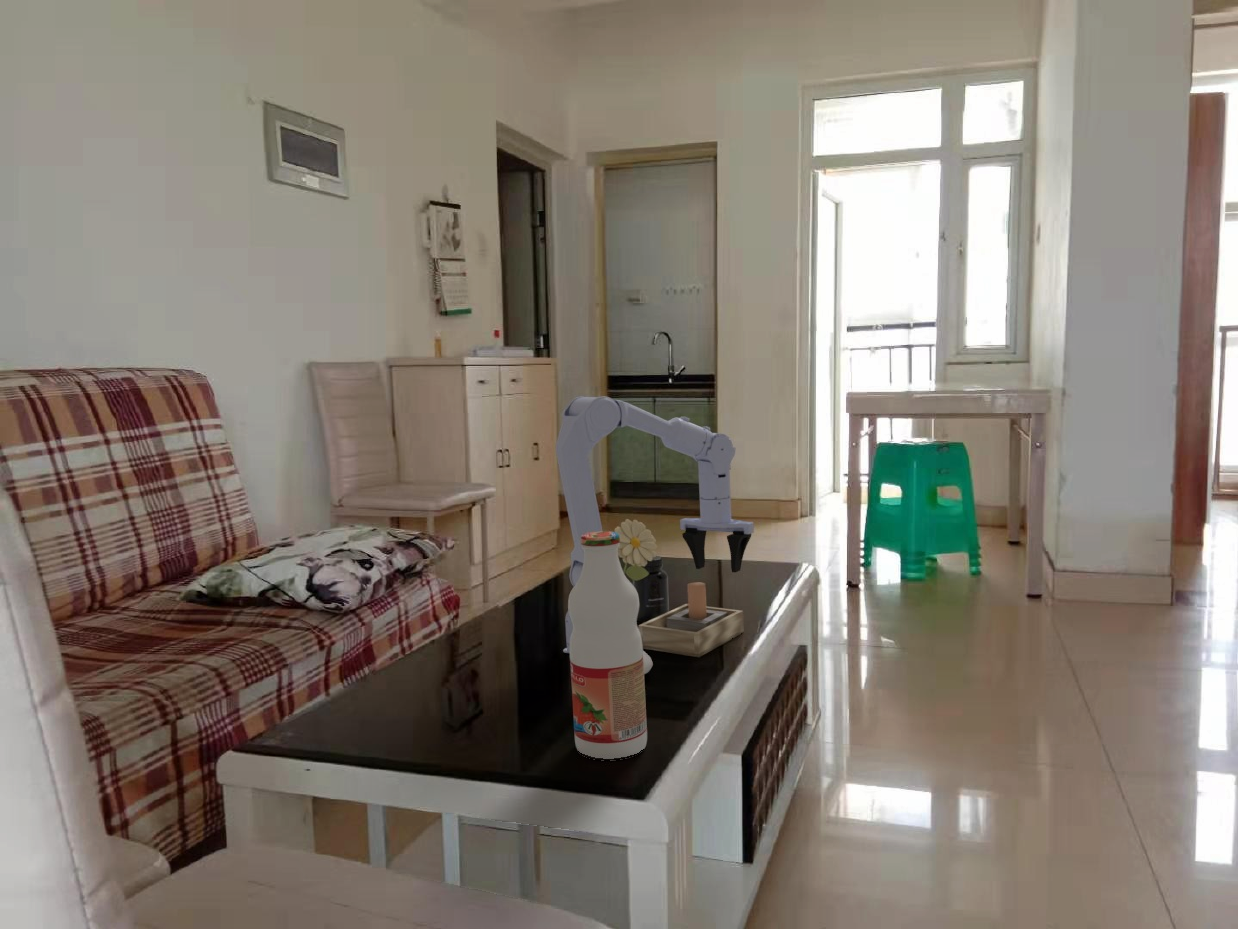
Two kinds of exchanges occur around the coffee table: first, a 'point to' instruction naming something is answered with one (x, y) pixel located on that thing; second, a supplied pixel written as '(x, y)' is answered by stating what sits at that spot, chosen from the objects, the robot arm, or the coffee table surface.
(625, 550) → the flower in vase
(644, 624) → the box
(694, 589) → the peg
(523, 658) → the coffee table surface
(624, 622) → the fruit juice
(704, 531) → the robot arm
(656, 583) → the supplement bottle
